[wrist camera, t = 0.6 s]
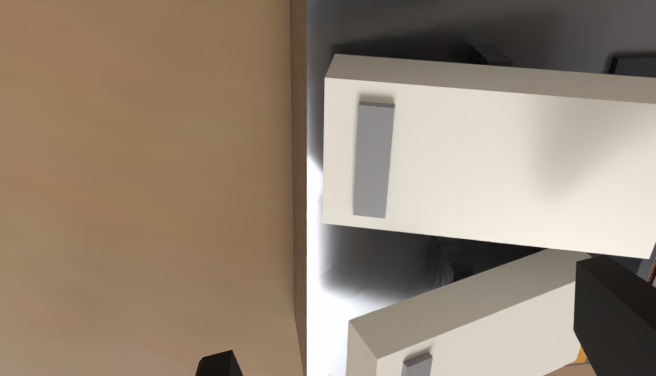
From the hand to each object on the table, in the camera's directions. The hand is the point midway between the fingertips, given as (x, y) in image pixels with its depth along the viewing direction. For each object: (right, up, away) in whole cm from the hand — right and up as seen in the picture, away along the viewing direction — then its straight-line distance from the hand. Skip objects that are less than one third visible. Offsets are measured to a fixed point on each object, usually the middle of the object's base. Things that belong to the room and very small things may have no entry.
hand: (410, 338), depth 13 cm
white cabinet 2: (+2, +4, +3) cm, 6 cm away
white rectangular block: (+2, -1, +7) cm, 7 cm away
